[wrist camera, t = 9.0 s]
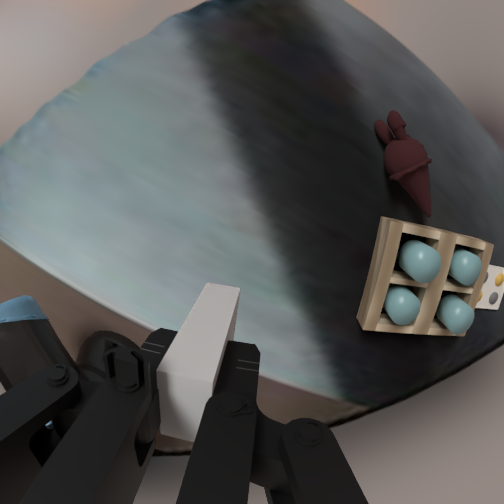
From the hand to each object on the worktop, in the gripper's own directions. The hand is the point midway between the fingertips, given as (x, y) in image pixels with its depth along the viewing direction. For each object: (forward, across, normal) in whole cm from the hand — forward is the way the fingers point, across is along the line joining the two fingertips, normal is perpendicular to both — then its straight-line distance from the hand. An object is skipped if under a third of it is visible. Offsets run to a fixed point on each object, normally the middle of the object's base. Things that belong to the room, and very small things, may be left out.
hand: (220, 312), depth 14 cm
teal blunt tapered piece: (+29, +32, -1) cm, 43 cm away
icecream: (+30, +19, +11) cm, 37 cm away
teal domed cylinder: (+27, +32, -8) cm, 43 cm away
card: (+29, +43, -5) cm, 52 cm away
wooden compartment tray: (+29, +28, -5) cm, 40 cm away
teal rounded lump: (+29, +23, -8) cm, 37 cm away
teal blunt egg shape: (+27, +23, -1) cm, 35 cm away
